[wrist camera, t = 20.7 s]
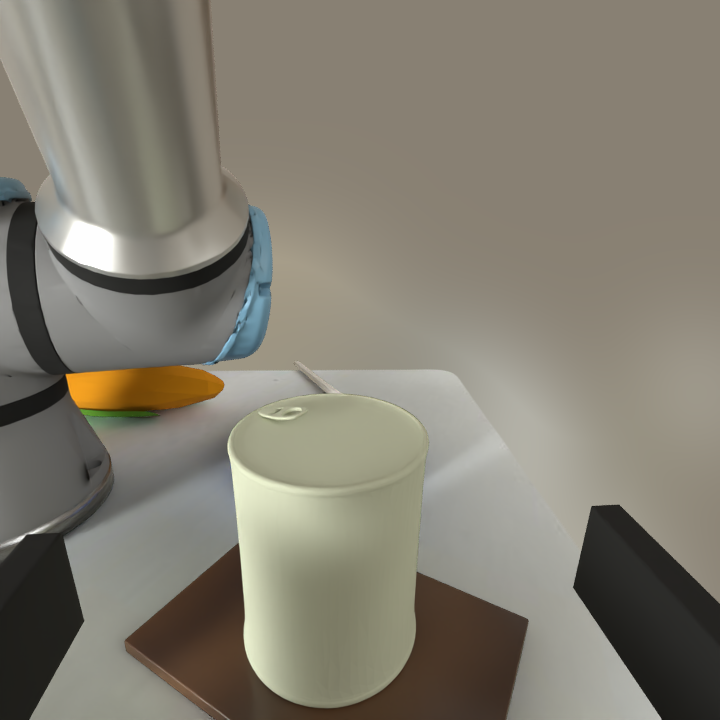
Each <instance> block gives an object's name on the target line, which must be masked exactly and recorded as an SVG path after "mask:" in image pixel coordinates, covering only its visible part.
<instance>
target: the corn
mask: <svg viewBox="0 0 720 720" xmlns="http://www.w3.org/2000/svg"><path fill="white" fill-rule="evenodd" d="M66 378H67V382H68V387H69V391H70V395H71V397H72V399H73V401H74V402H75V403H76V405H77V406H78V408H79V409H80V411H81V412H82V414H83V415H88V416H100V417H146V416H160V415H158V414H156V413H152V412H148V411H152V410H162V409H171V408H180V407H184V406H187V405H191V404H194V403H198V402H201V401H205V400H208V399H212V398H215V397H216V396H217V395H218V394H219V393H220V392H221V391H222V390H223V388H224V382H223V381H222V380H221V379H219V378H218V377H216V376H215V375H212V374H210V373H208V372H206V371H204V370H200V369H195V368H189V367H184V366H164V367H149V368H134V369H122V370H110V371H97V372H85V373H73V374H66Z"/></svg>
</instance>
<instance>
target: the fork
mask: <svg viewBox="0 0 720 720" xmlns="http://www.w3.org/2000/svg"><path fill="white" fill-rule="evenodd" d="M294 365H295V366H296V367H298V368H299V369H300V370H301V371H302V372H303V373H304V374H305V375H307V376H308V377H309V378H310V379H311V380H312V381H313V382H314V383H316V384H317V385H318V386H319V387H320V388H321V389H322V390H323V391H325V392H326V393H338V394H342V393H341V392H339V391H337V390H336V389H334V388H333V387H332V386H330V385H329V384H328V383H327V382H325V381H324V380H323V379H321V378H320V377H319V376H317V375H316V374H315V373H314V372H312V371H311V370H309V369H308V368H307V367H306V366H304V365H303V364H302V363H300V362H299V361H295V362H294Z"/></svg>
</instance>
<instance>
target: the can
mask: <svg viewBox="0 0 720 720" xmlns="http://www.w3.org/2000/svg"><path fill="white" fill-rule="evenodd" d="M227 446H228V454H229V458H230V463H231V469H232V478H233V487H234V496H235V506H236V516H237V526H238V536H239V547H240V558H241V570H242V582H243V594H244V607H245V623H244V645H245V650H246V654H247V657H248V659H249V662H250V664H251V666H252V668H253V670H254V671H255V673H256V674H257V676H258V677H259V678H260V680H261V681H262V682H263V683H264V684H265V685H266V686H267V687H268V688H270V689H271V690H272V691H273V692H275V693H276V694H278V695H279V696H281V697H282V698H284V699H287V700H289V701H291V702H293V703H296V704H300V705H303V706H307V707H314V708H338V707H344V706H348V705H352V704H355V703H359V702H361V701H363V700H365V699H367V698H370V697H372V696H373V695H375V694H377V693H378V692H380V691H381V690H383V689H384V688H385V687H386V686H388V685H389V684H390V683H391V682H392V681H393V680H394V679H395V678H396V676H397V675H398V674H399V673H400V672H401V670H402V669H403V667H404V665H405V664H406V662H407V660H408V658H409V656H410V654H411V651H412V648H413V645H414V640H415V634H416V619H415V612H414V603H415V587H416V571H417V556H418V544H419V531H420V519H421V506H422V494H423V482H424V472H425V463H426V455H427V452H428V446H429V440H428V435H427V432H426V430H425V428H424V426H423V425H422V424H421V422H420V421H419V420H418V419H417V418H416V417H415V416H414V415H412V414H411V413H409V412H408V411H406V410H405V409H403V408H401V407H399V406H396V405H394V404H392V403H389V402H386V401H383V400H379V399H376V398H371V397H366V396H361V395H353V394H338V393H324V394H310V395H303V396H296V397H292V398H287V399H283V400H279V401H276V402H273V403H270V404H268V405H265V406H263V407H261V408H259V409H257V410H255V411H253V412H251V413H250V414H248V415H247V416H245V417H244V418H243V419H242V420H240V421H239V423H238V424H237V425H236V426H235V427H234V428H233V430H232V431H231V434H230V436H229V439H228V445H227Z"/></svg>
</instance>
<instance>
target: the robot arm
mask: <svg viewBox="0 0 720 720" xmlns="http://www.w3.org/2000/svg"><path fill="white" fill-rule="evenodd" d="M0 60H1V62H2V64H3V67H4V69H5V71H6V73H7V76H8V78H9V81H10V83H11V85H12V87H13V90H14V92H15V94H16V97H17V99H18V101H19V104H20V106H21V108H22V110H23V113H24V115H25V117H26V120H27V122H28V124H29V127H30V129H31V131H32V134H33V136H34V138H35V141H36V143H37V145H38V148H39V150H40V152H41V155H42V157H43V159H44V161H45V164H46V166H47V168H48V171H49V173H50V175H49V176H48V177H47V178H46V179H45V181H44V182H43V183H42V185H41V187H40V189H39V191H38V194H37V197H36V201H35V202H30V201H32V199H31V195H30V193H29V192H28V191H27V190H26V189H25V186H24V185H23V184H22V183H21V182H20V181H19V180H16V179H12V178H6V177H0V720H29V719H30V717H31V715H32V713H33V712H34V710H35V708H36V706H37V704H38V703H39V701H40V699H41V697H42V696H43V694H44V692H45V690H46V688H47V687H48V685H49V683H50V681H51V679H52V678H53V676H54V674H55V672H56V670H57V669H58V667H59V665H60V663H61V661H62V660H63V658H64V656H65V654H66V653H67V651H68V649H69V647H70V645H71V644H72V642H73V640H74V638H75V636H76V635H77V633H78V631H79V629H80V627H81V626H82V624H83V622H84V618H83V614H82V610H81V607H80V603H79V599H78V595H77V591H76V587H75V583H74V579H73V575H72V571H71V567H70V563H69V559H68V555H67V551H66V547H65V543H64V539H63V535H65V534H67V533H68V532H70V531H71V530H73V529H74V528H75V527H77V526H78V525H80V524H81V523H82V522H83V521H85V520H86V519H87V518H88V517H89V516H91V515H92V514H93V513H94V512H95V511H96V510H97V509H98V508H99V507H100V506H101V504H102V503H103V502H104V501H105V499H106V498H107V496H108V495H109V493H110V491H111V489H112V486H113V482H114V474H113V469H112V464H111V459H110V456H109V454H108V452H107V450H106V448H105V446H104V445H103V443H102V442H101V441H100V439H99V438H98V436H97V435H96V433H95V432H94V430H93V429H92V427H91V426H90V424H89V423H88V421H87V420H86V418H85V417H84V415H83V414H82V412H81V411H80V409H79V408H78V406H77V405H76V403H75V402H74V401H73V399H72V397H71V395H70V391H69V387H68V382H67V378H66V374H73V373H85V372H97V371H110V370H122V369H134V368H149V367H164V366H179V365H194V364H203V365H213V364H216V363H218V362H219V361H226V360H234V359H241V358H245V357H248V356H250V355H251V354H253V353H254V352H255V351H256V350H257V349H258V348H259V347H260V345H261V343H262V341H263V339H264V336H265V333H266V330H267V325H268V320H269V314H270V307H271V292H270V286H271V282H272V247H271V237H270V231H269V226H268V222H267V219H266V217H265V214H264V213H263V212H262V211H261V210H260V209H259V208H257V207H255V206H250V205H249V204H248V201H247V197H246V194H245V192H244V190H243V188H242V186H241V185H240V183H239V182H238V180H237V179H236V178H235V177H234V176H233V175H232V174H231V173H230V172H229V171H228V170H227V169H226V168H224V167H223V166H222V165H221V157H220V141H219V126H218V110H217V94H216V80H215V63H214V48H213V31H212V16H211V1H210V0H0ZM573 588H574V590H575V591H576V593H577V594H578V596H579V597H580V599H581V600H582V601H583V603H584V604H585V606H586V607H587V609H588V610H589V612H590V613H591V615H592V616H593V618H594V619H595V621H596V622H597V624H598V625H599V627H600V628H601V630H602V631H603V633H604V634H605V636H606V637H607V639H608V640H609V642H610V643H611V644H612V646H613V647H614V649H615V650H616V652H617V653H618V655H619V656H620V658H621V659H622V661H623V662H624V664H625V665H626V667H627V668H628V670H629V671H630V673H631V674H632V676H633V677H634V679H635V680H636V682H637V683H638V684H639V686H640V687H641V689H642V690H643V692H644V693H645V695H646V696H647V698H648V699H649V701H650V702H651V704H652V705H653V707H654V708H655V710H656V711H657V713H658V714H659V716H660V717H661V719H662V720H720V604H719V603H718V602H717V601H716V600H715V599H714V598H713V597H712V596H711V595H710V594H709V593H708V592H707V591H706V590H705V589H704V588H703V587H702V586H701V585H700V584H699V583H698V582H697V581H696V580H695V579H694V578H693V577H692V576H691V575H690V574H689V573H688V572H687V571H686V570H685V569H684V568H683V567H682V566H681V565H680V564H679V563H678V562H677V561H676V560H674V558H673V557H672V556H671V555H670V554H669V553H668V552H667V551H665V549H663V547H662V546H660V545H659V544H658V543H657V542H656V541H655V540H654V539H653V538H652V537H651V536H650V535H649V534H648V533H647V532H646V531H645V530H644V529H643V528H642V527H641V526H640V525H639V524H638V523H637V522H636V521H635V520H634V519H633V518H632V517H631V516H630V515H629V514H628V513H627V512H626V511H625V510H624V509H623V508H622V507H621V506H620V505H603V506H592V507H591V511H590V516H589V520H588V524H587V529H586V533H585V537H584V542H583V546H582V551H581V555H580V560H579V564H578V568H577V573H576V577H575V582H574V586H573Z"/></svg>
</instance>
